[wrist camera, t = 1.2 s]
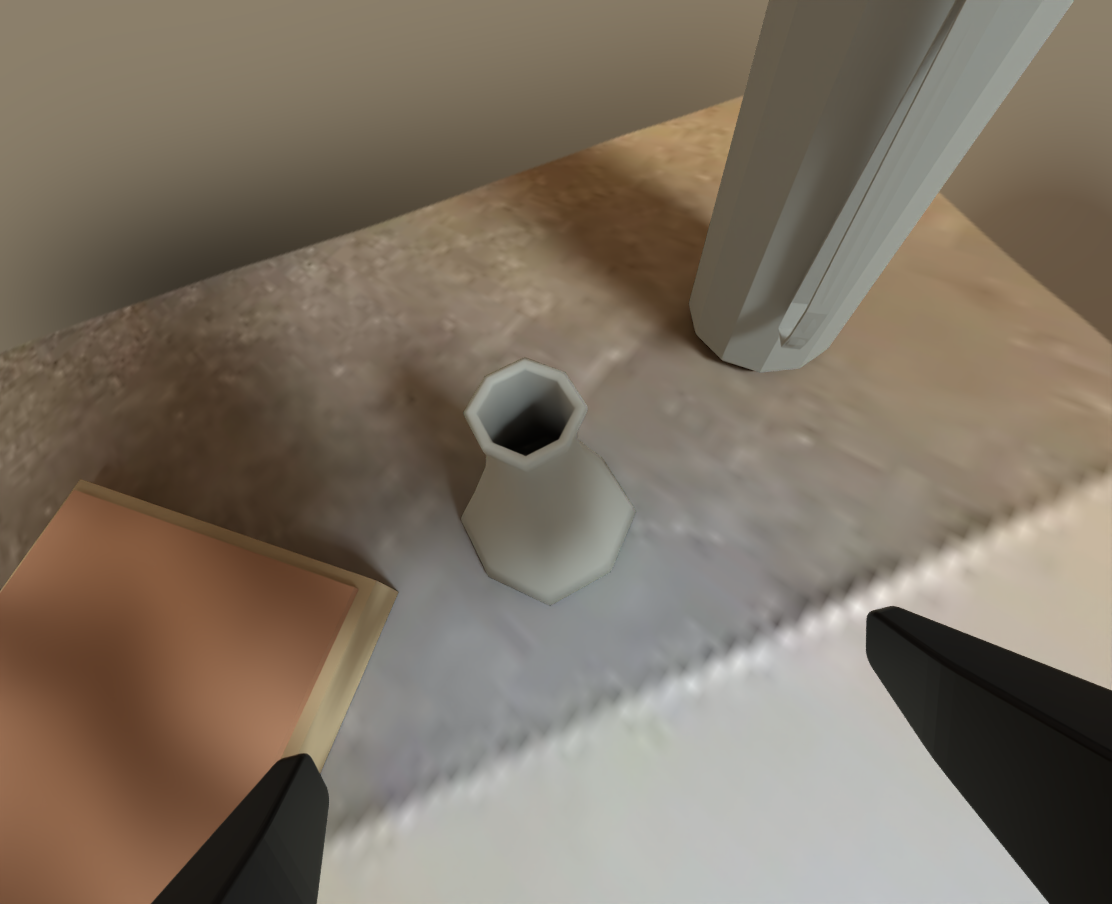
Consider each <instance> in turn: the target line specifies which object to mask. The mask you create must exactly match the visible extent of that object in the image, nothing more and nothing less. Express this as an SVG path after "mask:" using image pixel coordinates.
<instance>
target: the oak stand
mask: <svg viewBox="0 0 1112 904" xmlns="http://www.w3.org/2000/svg"><path fill="white" fill-rule="evenodd" d="M397 594H398V591H396V590H394V589H392V588H390V587H388V586H386V585H384V584H382V583H380V582H378V581H376V580H373V579H371V578H368V577H365V576H362V575H359V574H356V573H353V572H350V571H347V570H344V569H341V568H338V567H336V566H333V565H330V564H327V563H324V562H321V561H318V560H315V559H312V558H309V557H306V556H303V555H301V554H298V553H295V552H292V551H289V550H286V549H283V548H280V547H277V546H274V545H271V544H269V543H266V542H263V541H260V540H257V539H254V538H251V537H248V536H245V535H242V534H239V533H236V532H234V531H231V530H228V529H225V528H222V527H219V526H216V525H213V524H210V523H207V522H204V521H201V520H199V519H196V518H193V517H190V516H187V515H184V514H181V513H178V512H175V511H172V510H169V509H166V508H164V507H161V506H158V505H155V504H152V503H149V502H146V501H143V500H140V499H137V498H134V497H131V496H129V495H126V494H123V493H120V492H117V491H114V490H111V489H108V488H105V487H102V486H99V485H96V484H94V483H91V482H88V481H85V480H82V479H80V480H79V482H78V483H77V484H76V486H75V487H74V489H73V490H72V491H71V493H70V494H69V496H68V497H67V498H66V500H65V501H64V503H63V504H62V505H61V507H60V508H59V510H58V511H57V512H56V514H55V515H54V517H53V518H52V519H51V521H50V522H49V524H48V525H47V526H46V528H45V529H44V531H43V532H42V533H41V535H40V536H39V538H38V539H37V540H36V542H35V543H34V545H33V546H32V547H31V549H30V550H29V552H28V553H27V554H26V556H25V557H24V559H23V560H22V561H21V563H20V564H19V566H18V567H17V568H16V570H15V571H14V573H13V574H12V575H11V577H10V578H9V580H8V581H7V582H6V584H5V585H4V587H3V588H2V589H1V591H0V904H151V903H152V902H153V900H154V899H155V898H156V897H157V896H158V895H159V894H160V893H161V891H162V890H163V889H164V888H165V887H166V886H167V885H168V883H169V882H170V881H171V880H172V879H173V878H174V877H175V876H176V874H177V873H178V872H179V871H180V870H181V869H182V868H183V867H184V865H185V864H186V863H187V862H188V861H189V860H190V859H191V858H192V856H193V855H194V854H195V853H196V852H197V851H198V850H199V849H200V847H201V846H202V845H203V844H204V843H205V842H206V841H207V839H208V838H209V837H210V836H211V835H212V834H213V833H214V832H215V830H216V829H217V828H218V827H219V826H220V825H221V824H222V823H223V821H224V820H225V819H226V818H227V817H228V816H229V815H230V814H231V812H232V811H233V810H234V809H235V808H236V807H237V806H238V805H239V803H240V802H241V801H242V800H243V799H244V798H245V797H246V795H247V794H248V793H249V792H250V791H251V790H252V789H253V788H254V786H255V785H256V784H257V783H258V782H259V781H260V780H261V779H262V777H263V776H264V775H265V774H266V773H267V772H268V771H269V770H270V768H271V767H272V766H273V765H274V764H275V763H276V762H277V761H278V760H280V759H282V758H285V757H289V756H293V755H297V754H301V753H307V754H309V755H310V756H311V758H312V759H313V761H314V763H315V765H316V767H317V769H318V771H319V773H321V770H322V768H323V766H324V763H325V761H326V759H327V756H328V754H329V752H330V749H331V747H332V745H333V742H334V740H335V738H336V735H337V733H338V731H339V729H340V726H341V724H342V722H343V719H344V717H345V715H346V712H347V710H348V708H349V705H350V703H351V701H352V698H353V696H354V694H355V691H356V689H357V687H358V685H359V682H360V680H361V678H362V675H363V673H364V671H365V668H366V666H367V664H368V661H369V659H370V657H371V654H372V652H373V650H374V647H375V645H376V643H377V641H378V638H379V636H380V634H381V631H382V629H383V627H384V624H385V622H386V620H387V617H388V615H389V613H390V610H391V608H392V606H393V603H394V601H395V599H396V597H397Z"/></svg>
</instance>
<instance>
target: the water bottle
mask: <svg viewBox="0 0 1112 904" xmlns="http://www.w3.org/2000/svg"><path fill="white" fill-rule="evenodd" d="M1073 1H1074V0H769V2H768V6H767V10H766V14H765V18H764V22H763V25H762V29H761V33H760V36H759V40H758V44H757V48H756V52H755V55H754V59H753V63H752V67H751V71H750V74H749V78H748V82H747V86H746V89H745V93H744V97H743V101H742V104H741V108H740V112H739V116H738V119H737V123H736V127H735V131H734V135H733V138H732V142H731V146H730V150H729V153H728V157H727V161H726V165H725V169H724V172H723V176H722V180H721V184H720V187H719V191H718V195H717V199H716V203H715V206H714V210H713V214H712V218H711V221H710V225H709V229H708V233H707V237H706V240H705V244H704V248H703V252H702V255H701V259H700V263H699V267H698V271H697V274H696V278H695V282H694V286H693V289H692V293H691V297H690V301H689V307H690V311H691V316H692V320H693V324H694V329H695V333H696V335H697V336H698V337H699V338H700V339H701V340H702V341H703V342H704V343H705V344H706V345H707V346H708V347H709V348H710V349H711V350H712V351H713V352H714V353H715V354H716V355H717V356H718V357H719V358H720V359H721V360H722V361H725V362H728V363H732V364H735V365H738V366H742V367H745V368H748V369H751V370H754V371H757V372H770V371H780V370H790V369H799V368H801V367H802V366H804V365H805V364H806V363H808V362H809V361H811V360H812V359H814V358H815V357H817V356H818V355H819V354H821V353H822V352H824V351H825V350H827V349H828V348H829V346H830V345H831V343H832V342H833V341H834V339H835V338H836V336H837V335H838V333H839V332H840V331H841V329H842V328H843V326H844V325H845V324H846V322H847V321H848V319H849V318H850V317H851V315H852V314H853V312H854V311H855V309H856V308H857V307H858V305H859V304H860V302H861V301H862V300H863V298H864V297H865V295H866V294H867V292H868V291H869V290H870V288H871V287H872V285H873V284H874V283H875V281H876V280H877V278H878V277H879V275H880V274H881V273H882V271H883V270H884V268H885V267H886V266H887V264H888V263H889V261H890V260H891V259H892V257H893V256H894V254H895V253H896V251H897V250H898V249H899V247H900V246H901V244H902V243H903V242H904V240H905V239H906V237H907V236H908V234H909V233H910V232H911V230H912V229H913V227H914V226H915V225H916V223H917V222H918V220H919V219H920V218H921V216H922V215H923V213H924V212H925V210H926V209H927V208H928V206H929V205H930V203H931V202H932V201H933V199H934V198H935V196H936V195H937V193H938V192H939V191H940V189H941V188H942V186H943V185H944V184H945V182H946V181H947V179H948V178H949V176H950V175H951V174H952V172H953V171H954V169H955V168H956V166H957V165H958V164H959V162H960V161H961V159H962V158H963V157H964V155H965V154H966V152H967V151H968V150H969V148H970V147H971V145H972V144H973V143H974V141H975V140H976V138H977V137H978V136H979V134H980V133H981V131H982V130H983V128H984V127H985V125H986V124H987V123H988V121H989V120H990V119H991V117H992V116H993V114H994V113H995V111H996V110H997V109H998V107H999V106H1000V104H1001V103H1002V102H1003V100H1004V99H1005V97H1006V96H1007V95H1008V93H1009V92H1010V90H1011V89H1012V87H1013V86H1014V85H1015V83H1016V82H1017V80H1018V79H1019V78H1020V76H1021V75H1022V73H1023V72H1024V70H1025V69H1026V68H1027V66H1028V65H1029V63H1030V62H1031V61H1032V59H1033V58H1034V56H1035V55H1036V54H1037V52H1038V51H1039V49H1040V48H1041V46H1042V45H1043V44H1044V42H1045V41H1046V39H1047V38H1048V36H1049V35H1050V34H1051V32H1052V31H1053V29H1054V28H1055V27H1056V25H1057V24H1058V22H1059V21H1060V19H1061V18H1062V17H1063V15H1064V14H1065V12H1066V11H1067V10H1068V8H1069V7H1070V5H1071V4H1072V3H1073Z"/></svg>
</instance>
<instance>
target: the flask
mask: <svg viewBox="0 0 1112 904" xmlns="http://www.w3.org/2000/svg"><path fill="white" fill-rule="evenodd" d="M587 411H588V408H587V405H586V404H585V402H584V401H583V399H582V397H581V396H580V394H579V393H578V391H577V390H576V388H575V387H574V385H573V384H572V382H571V380H570V379H569V377H568V376H567V374H566V373H565V372H564V371H561V370H558V369H555V368H553V367H550V366H547V365H545V364H542V363H539V362H536V361H534V360H531V359H528V358H526V357H524V358H522V359H520V360H518V361H516V362H514V363H512V364H509V365H507V366H505V367H503V368H501V369H499V370H497V371H495V372H493V373H491V374H489V375H486V376H485V377H484V379H483V380H482V382H481V384H480V385H479V387H478V389H477V390H476V392H475V394H474V395H473V397H472V399H471V400H470V402H469V404H468V406H467V407H466V409H465V411H464V412H463V413H464V417H465V419H466V420H467V422H468V424H469V426H470V428H471V430H472V432H473V434H474V436H475V437H476V439H477V441H478V443H479V445H480V447H481V449H482V451H483V453H484V454H486V467H485V469H484V471H483V474H482V476H481V478H480V481H479V483H478V485H477V488H476V490H475V492H474V494H473V496H472V498H471V500H470V502H469V504H468V505H467V507H466V509H465V511H464V513H463V515H462V517H461V521H462V523H463V525H464V527H465V529H466V531H467V533H468V535H469V537H470V539H471V541H472V543H473V546H474V548H475V550H476V552H477V554H478V556H479V558H480V560H481V562H482V564H483V566H484V568H485V571H486V573H487V575H488V577H490V578H492V579H494V580H496V581H499V582H501V583H503V584H505V585H507V586H509V587H511V588H513V589H515V590H518V591H520V592H522V593H524V594H526V595H528V596H530V597H532V598H535V599H537V600H539V601H541V602H543V603H545V604H547V605H549V606H551V605H553V604H555V603H556V602H558V601H560V600H562V599H563V598H565V597H567V596H569V595H571V594H572V593H574V592H576V591H578V590H580V589H581V588H583V587H585V586H587V585H588V584H590V583H592V582H594V581H596V580H597V579H599V578H601V577H603V576H605V575H606V574H608V573H610V572H611V571H612V568H613V566H614V563H615V561H616V559H617V556H618V554H619V552H620V549H621V547H622V544H623V542H624V540H625V537H626V535H627V533H628V530H629V528H630V525H631V523H632V521H633V518H634V516H635V513H636V510H635V509H634V507H633V505H632V504H631V502H630V501H629V499H628V498H627V496H626V494H625V493H624V491H623V490H622V488H621V486H620V485H619V483H618V482H617V480H616V479H615V477H614V475H613V474H612V472H611V471H610V469H609V467H608V466H607V464H606V463H605V461H604V460H603V458H602V457H600V456H599V455H598V454H597V453H595V452H594V451H592V450H591V449H589V448H588V447H587V446H585V445H584V444H583V443H582V442H581V441H580V440H579V439H578V435H577V431H578V429H579V427H580V425H581V423H582V421H583V419H584V417H585V415H586V413H587Z"/></svg>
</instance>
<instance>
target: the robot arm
mask: <svg viewBox="0 0 1112 904" xmlns="http://www.w3.org/2000/svg"><path fill="white" fill-rule="evenodd" d="M866 654H867V658H868V661H869V663H870V665H871V667H872V668H873V670H874V671H875V673H876V674H877V676H878V677H879V679H880V680H881V682H882V683H883V685H884V686H885V688H886V689H887V691H888V692H889V694H890V695H891V697H892V698H893V700H894V701H895V703H896V704H897V706H898V707H899V709H900V710H901V712H902V713H903V715H904V716H905V718H906V719H907V721H908V722H909V724H910V725H911V727H912V728H913V730H914V731H915V733H916V734H917V736H918V737H919V739H920V740H921V742H922V743H923V745H924V746H925V748H926V749H927V751H928V752H929V753H930V755H931V756H932V758H933V759H934V760H935V762H936V763H937V764H938V765H939V767H940V768H941V769H942V771H943V772H944V773H945V775H946V776H947V777H948V778H949V780H950V781H951V782H952V783H953V785H954V786H955V787H956V788H957V789H958V791H959V792H960V793H961V794H962V796H963V797H964V798H965V799H966V801H967V802H968V803H969V804H970V806H971V807H972V808H973V809H974V811H975V812H976V813H977V814H978V816H979V817H980V818H981V819H982V821H983V822H984V823H985V824H986V826H987V827H988V828H989V829H990V831H991V832H992V833H993V834H994V836H995V837H996V838H997V839H998V840H999V842H1000V843H1001V844H1002V845H1003V847H1004V848H1005V849H1006V850H1007V852H1008V853H1009V854H1010V855H1011V857H1012V858H1013V859H1014V860H1015V862H1016V863H1017V864H1018V865H1019V867H1020V868H1021V869H1022V870H1023V872H1024V873H1025V874H1026V875H1027V877H1028V878H1029V879H1030V880H1031V882H1032V883H1033V884H1034V885H1035V887H1036V888H1037V889H1038V890H1039V892H1040V893H1041V894H1042V895H1043V896H1044V898H1045V899H1046V900H1047V901H1048V903H1049V904H1112V690H1109V689H1107V688H1104V687H1101V686H1099V685H1096V684H1094V683H1091V682H1089V681H1086V680H1084V679H1081V678H1078V677H1076V676H1073V675H1071V674H1068V673H1066V672H1063V671H1061V670H1058V669H1055V668H1053V667H1050V666H1048V665H1045V664H1043V663H1040V662H1038V661H1035V660H1032V659H1030V658H1027V657H1025V656H1022V655H1020V654H1017V653H1015V652H1012V651H1009V650H1007V649H1004V648H1002V647H999V646H997V645H994V644H992V643H989V642H986V641H984V640H981V639H979V638H976V637H974V636H971V635H969V634H966V633H963V632H961V631H958V630H956V629H953V628H951V627H948V626H946V625H943V624H940V623H938V622H935V621H933V620H930V619H928V618H925V617H923V616H920V615H918V614H915V613H912V612H910V611H907V610H905V609H902V608H899V607H896V606H889V607H885V608H881V609H877V610H873V611H871V612H869V614H868V615H867V620H866ZM328 808H329V794H328V790H327V787H326V785H325V783H324V781H323V779H322V777H321V775H320V773H319V771H318V769H317V767H316V765H315V763H314V761H313V759H312V758H311V756H310V755H309V754H307V753H301V754H297V755H293V756H289V757H285V758H282V759H280V760H278V761H277V762H276V763H275V764H274V765H273V766H272V767H271V768H270V770H269V771H268V772H267V773H266V774H265V775H264V776H263V777H262V779H261V780H260V781H259V782H258V783H257V784H256V785H255V786H254V788H253V789H252V790H251V791H250V792H249V793H248V794H247V795H246V797H245V798H244V799H243V800H242V801H241V802H240V803H239V805H238V806H237V807H236V808H235V809H234V810H233V811H232V812H231V814H230V815H229V816H228V817H227V818H226V819H225V820H224V821H223V823H222V824H221V825H220V826H219V827H218V828H217V829H216V830H215V832H214V833H213V834H212V835H211V836H210V837H209V838H208V839H207V841H206V842H205V843H204V844H203V845H202V846H201V847H200V849H199V850H198V851H197V852H196V853H195V854H194V855H193V856H192V858H191V859H190V860H189V861H188V862H187V863H186V864H185V865H184V867H183V868H182V869H181V870H180V871H179V872H178V873H177V874H176V876H175V877H174V878H173V879H172V880H171V881H170V882H169V883H168V885H167V886H166V887H165V888H164V889H163V890H162V891H161V893H160V894H159V895H158V896H157V897H156V898H155V899H154V900H153V902H152V903H151V904H317V898H318V890H319V882H320V873H321V865H322V857H323V849H324V841H325V833H326V825H327V816H328Z"/></svg>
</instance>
